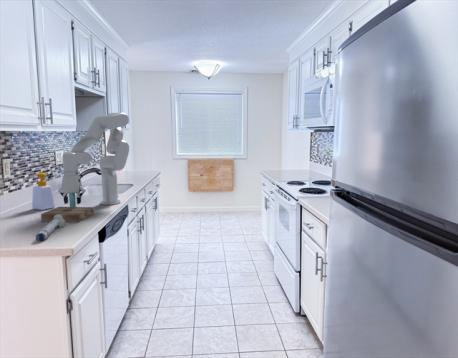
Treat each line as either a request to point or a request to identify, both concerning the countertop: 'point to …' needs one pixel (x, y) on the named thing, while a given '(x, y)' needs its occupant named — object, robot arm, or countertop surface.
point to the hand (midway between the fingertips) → (72, 203)
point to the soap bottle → (42, 194)
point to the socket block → (68, 214)
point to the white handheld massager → (50, 227)
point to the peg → (72, 199)
